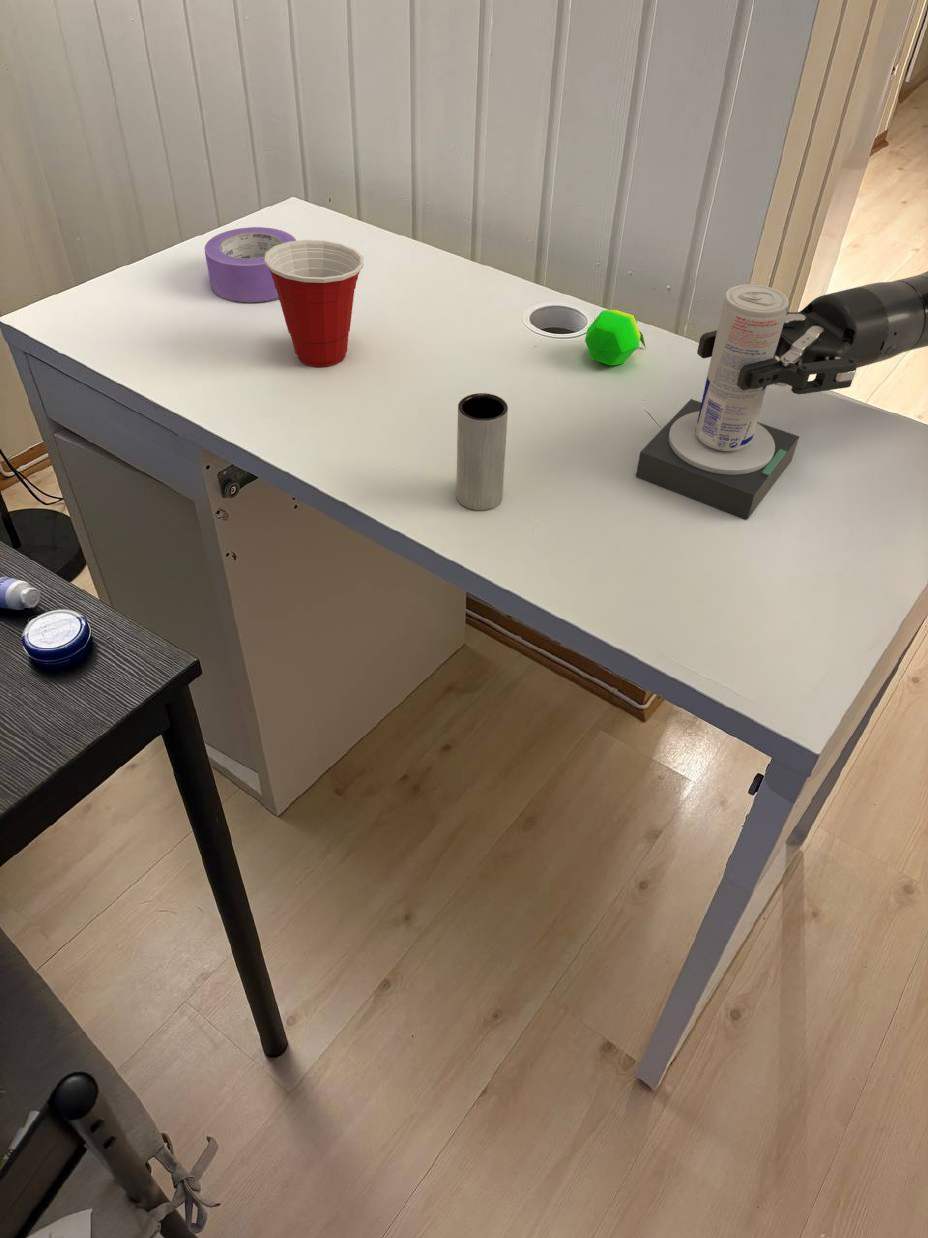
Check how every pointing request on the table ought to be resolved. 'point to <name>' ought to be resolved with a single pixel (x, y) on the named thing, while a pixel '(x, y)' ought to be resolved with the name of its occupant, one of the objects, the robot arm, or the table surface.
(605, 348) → the apple
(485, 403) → the grey cylindrical tube
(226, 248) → the tape roll
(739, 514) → the scale
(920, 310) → the robot arm
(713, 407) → the beverage can
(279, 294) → the plastic cup
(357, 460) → the table surface
